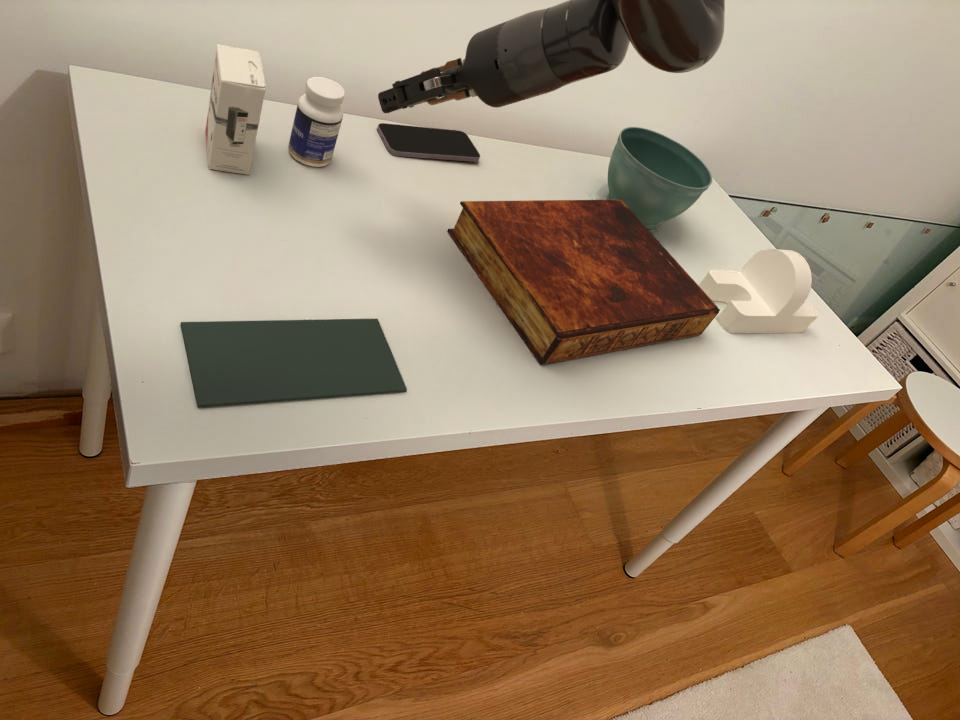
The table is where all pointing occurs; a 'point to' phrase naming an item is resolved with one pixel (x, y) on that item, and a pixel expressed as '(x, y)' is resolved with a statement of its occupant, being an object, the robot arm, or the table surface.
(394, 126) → the smartphone
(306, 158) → the pill bottle
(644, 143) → the green bowl
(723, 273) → the white slotted holder
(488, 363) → the table surface
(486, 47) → the robot arm
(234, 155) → the ink box
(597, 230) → the book
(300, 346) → the mat
